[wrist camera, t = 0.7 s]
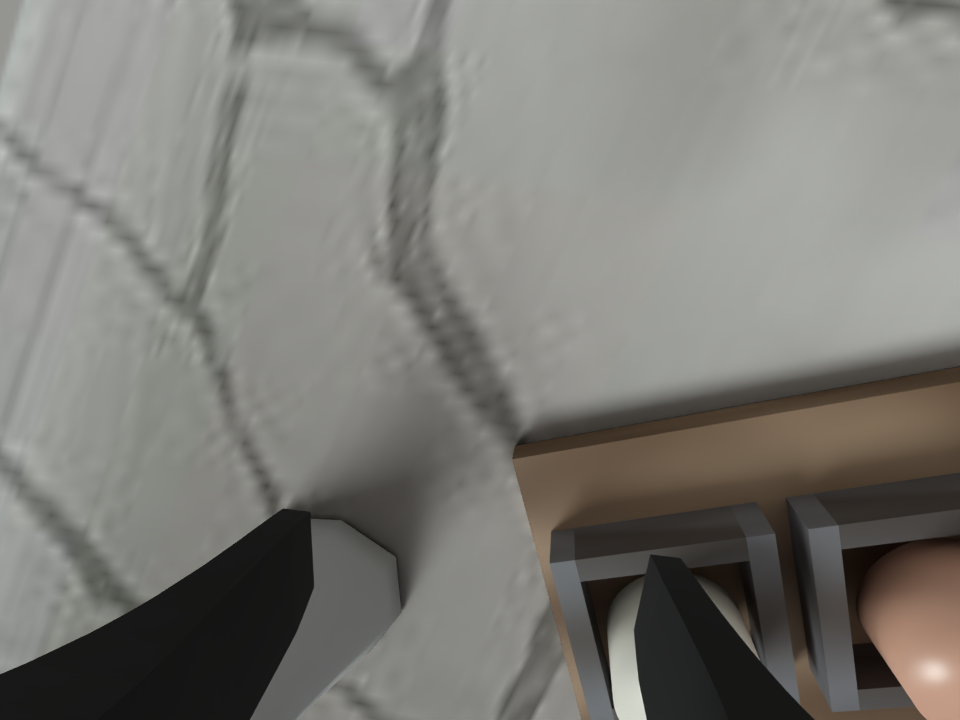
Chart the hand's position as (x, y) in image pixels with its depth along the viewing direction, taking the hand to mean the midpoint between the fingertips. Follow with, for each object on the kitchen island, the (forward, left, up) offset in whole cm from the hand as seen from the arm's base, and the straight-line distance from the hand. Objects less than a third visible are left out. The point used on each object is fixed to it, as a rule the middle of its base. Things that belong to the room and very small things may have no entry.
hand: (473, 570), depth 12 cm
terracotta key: (-9, -13, -8) cm, 17 cm away
